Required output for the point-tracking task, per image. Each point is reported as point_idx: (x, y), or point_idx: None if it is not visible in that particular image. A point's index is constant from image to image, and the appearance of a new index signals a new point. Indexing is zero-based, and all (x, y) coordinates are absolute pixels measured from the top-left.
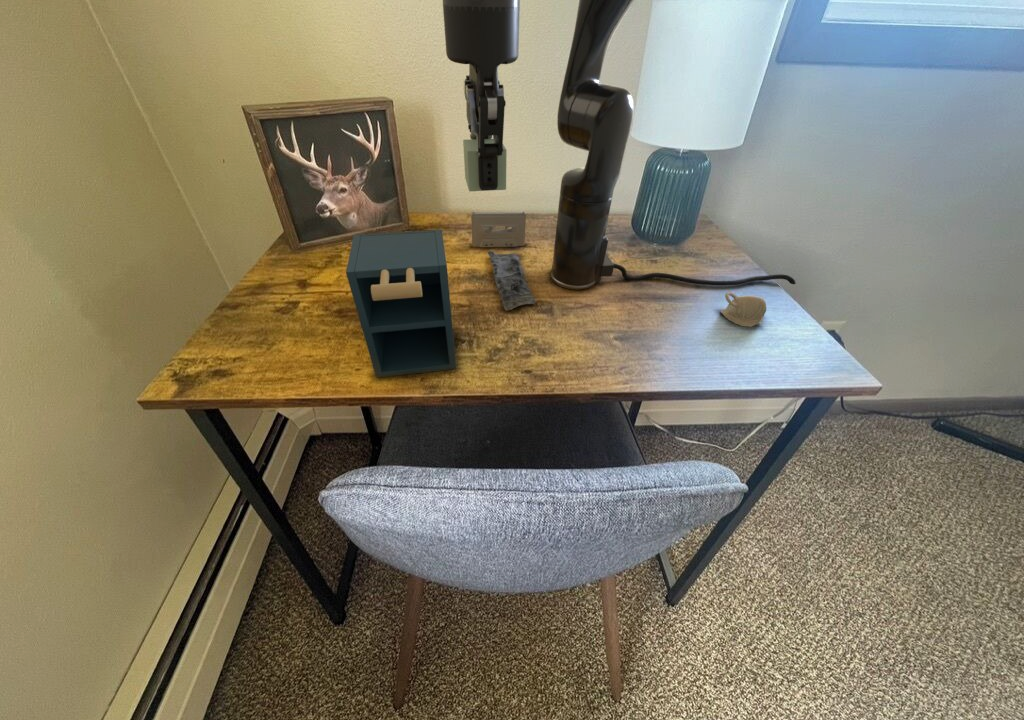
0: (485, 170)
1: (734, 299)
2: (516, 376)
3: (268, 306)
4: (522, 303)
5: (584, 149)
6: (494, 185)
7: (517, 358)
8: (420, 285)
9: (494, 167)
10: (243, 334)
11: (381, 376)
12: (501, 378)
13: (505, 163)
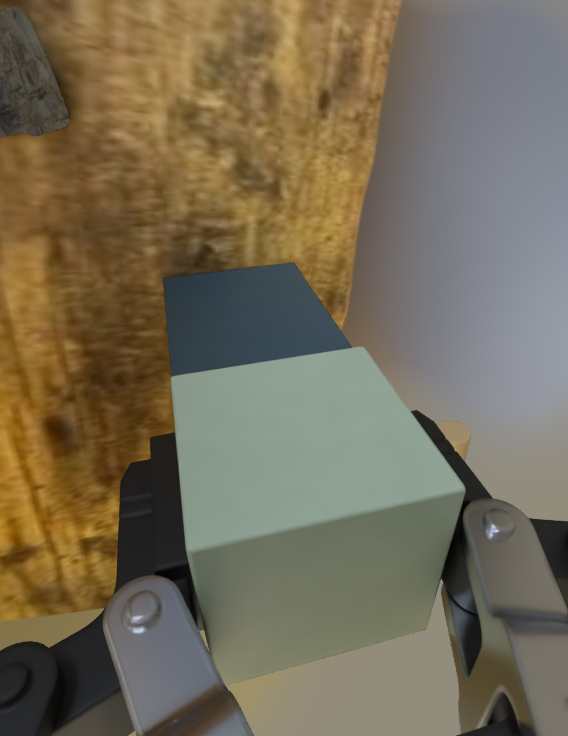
0: None
1: None
2: (333, 133)
3: (100, 568)
4: (42, 66)
5: None
6: (419, 415)
7: (276, 121)
8: (469, 439)
9: (474, 476)
10: None
11: None
12: (333, 169)
13: (421, 432)
